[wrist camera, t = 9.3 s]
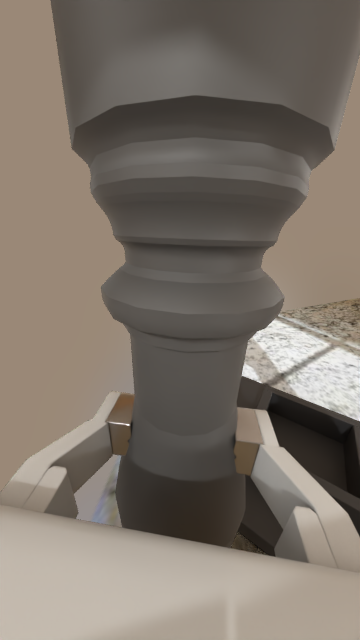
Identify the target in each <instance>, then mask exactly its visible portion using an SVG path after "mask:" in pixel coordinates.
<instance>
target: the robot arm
mask: <svg viewBox="0 0 360 640" xmlns="http://www.w3.org/2000/svg"><path fill="white" fill-rule="evenodd" d="M134 398H135V394H130V393H124V392H123V393H122V392H116V391H111V392H110V393H109V394H108V395H107V397H106V398H105V400H104V402H103V403H102V405H101V407H100V408H99V410H98V412H97V413H96V415H95V416H94V418H93V420H88V421H86V422H85V423H83V424H81V425H80V426H78V427H77V428H75V429H74V430H72V431H70V432H69V433H67V434H66V435H64V436H63V437H61V438H60V439H58V440H56V441H55V442H53V443H52V444H50V445H48V446H47V447H45V448H44V449H42V450H41V451H39V452H37V453H36V454H34V455H33V456H31V457H30V458H28V459H27V460H26V461H25V462H24V463H23V464H22V466H21V467H20V468H19V469H18V471H17V472H16V473H15V474H14V476H13V477H12V478H11V479H10V481H9V482H8V483H7V484H6V485H5V487H4V488H3V489H2V491H1V492H0V640H360V537H359V535H358V533H357V531H356V529H355V527H354V525H353V523H352V521H351V519H350V517H349V515H348V513H347V512H346V511H345V510H344V509H343V508H342V507H341V506H340V505H339V504H338V503H337V502H336V501H335V500H334V499H333V498H332V497H331V496H330V495H329V494H328V493H327V492H326V491H325V490H324V488H323V487H322V486H321V485H320V484H319V483H318V482H317V481H316V480H315V479H314V478H313V477H312V476H311V475H310V474H309V473H308V472H307V471H306V470H305V469H304V468H303V467H302V466H301V465H300V464H299V463H298V462H297V461H296V460H295V459H294V458H293V457H292V456H291V455H290V454H289V453H288V452H287V451H286V450H285V449H284V448H283V447H279V444H278V441H277V438H276V435H275V432H274V430H273V427H272V424H271V421H270V418H269V415H268V412H267V411H266V410H258V409H249V408H240V407H237V411H238V415H237V430H236V432H235V435H234V446H233V453H234V455H235V458H234V460H235V465H236V471H237V473H238V474H244V475H249V476H251V479H252V480H253V482H254V483H255V485H256V487H257V488H258V490H259V491H260V493H261V495H262V496H263V498H264V499H265V501H266V503H267V504H268V506H269V507H270V509H271V511H272V512H273V514H274V516H275V517H276V519H277V520H278V522H279V524H280V525H281V527H282V528H283V532H282V534H281V536H280V538H279V540H278V542H277V544H276V546H275V548H274V551H275V556H276V557H274V556H269V555H264V554H258V553H253V552H248V551H243V550H237V549H232V548H227V547H222V546H216V545H211V544H206V543H201V542H195V541H190V540H185V539H179V538H174V537H169V536H164V535H158V534H153V533H148V532H143V531H137V530H132V529H127V528H122V527H116V526H111V525H106V524H100V523H95V522H90V521H84V520H79V519H76V517H77V514H78V509H77V505H76V501H75V498H74V493H75V492H76V491H77V490H78V489H79V488H80V487H81V486H82V485H83V484H84V483H85V482H86V481H87V480H88V479H89V478H90V477H92V476H93V475H94V474H95V473H96V471H98V469H100V467H102V466H103V465H104V464H105V463H106V462H107V461H108V460H109V458H111V456H112V454H115V455H123V456H126V453H127V449H128V446H129V439H130V438H131V434H132V412H133V404H134Z"/></svg>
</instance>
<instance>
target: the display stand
mask: <svg viewBox="0 0 360 640" xmlns="http://www.w3.org/2000/svg"><path fill="white" fill-rule="evenodd" d="M237 407H240V408H249V409H258V410H266V411H267V412H268V415H269V418H270V421H271V424H272V427H273V430H274V432H275V435H276V438H277V441H278V444H279V447H283V448H284V449H285V450H286V451H287V452H288V453H289V454H290V455H291V456H292V457H293V458H294V459H295V460H296V461H297V462H298V463H299V464H300V465H301V466H302V467H303V468H304V469H305V470H306V471H307V472H308V473H309V474H310V475H311V476H312V477H313V478H314V479H315V480H316V481H317V482H318V483H319V484H320V485H321V486H322V487H323V488H324V490H325V491H326V492H327V493H328V494H329V495H330V496H331V497H332V498H333V499H334V500H335V501H336V502H337V503H338V504H339V505H340V506H341V507H342V508H343V509H344V510H345V511H346V512H347V513H348V515H349V517H350V519H351V521H352V523H353V525H354V527H355V529H356V531H357V533H358V535H359V537H360V421H357V420H354V419H352V418H349V417H347V416H344V415H342V414H339V413H336V412H334V411H331V410H329V409H326V408H324V407H321V406H319V405H316V404H313V403H311V402H308V401H306V400H303V399H301V398H298V397H296V396H293V395H290V394H288V393H285V392H283V391H280V390H278V389H275V388H272V387H270V386H267V385H264V384H261V383H259V382H256V381H254V380H251V379H249V378H246V377H243V376H242V377H241V381H240V386H239V392H238V397H237ZM245 497H246V509H245V512H244V516H243V518H242V521H241V523H240V526H239V528H238V532H240V533H241V534H242V535H243V536H245V537H246V538H247V539H249V540H250V541H251V542H252V543H254V544H255V545H256V546H257V547H259V548H260V549H261V550H263V551H264V552H265V553H266V554H268V555H269V556H274V557H276V556H275V551H274V548H275V546H276V544H277V542H278V540H279V538H280V536H281V534H282V532H283V528H282V527H281V525H280V524H279V522H278V520H277V519H276V517H275V516H274V514H273V512H272V511H271V509H270V507H269V506H268V504H267V503H266V501H265V499H264V498H263V496H262V495H261V493H260V491H259V490H258V488H257V487H256V485H255V483H254V482H253V480H252V479H251V476H249V475H245Z"/></svg>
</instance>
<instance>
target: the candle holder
mask: <svg viewBox="0 0 360 640" xmlns="http://www.w3.org/2000/svg"><path fill="white" fill-rule="evenodd" d="M51 6H52V13H53V20H54V26H55V34H56V41H57V47H58V55H59V61H60V68H61V76H62V83H63V90H64V96H65V104H66V111H67V118H68V125H69V132H70V139H71V146H72V149H73V150H74V151H75V152H76V153H77V154H78V155H79V156H80V157H81V158H82V159H83V160H84V161H85V162H86V163H87V164H88V166H89V168H90V172H91V182H90V188H91V193H92V195H93V197H94V199H95V200H96V202H97V203H98V205H99V206H100V207H101V209H102V210H103V211H104V212H105V214H106V215H107V217H108V219H109V221H110V223H111V226H112V229H113V235H114V236H115V238H116V240H118V241H119V242H121V244H122V245H123V247H124V249H125V258H126V262H125V264H124V265H123V266H122V267H120V268H119V269H118V270H117V271H116V272H115V273H114V274H113V275H112V276H111V277H110V278H109V279H108V280H107V281H106V282H105V283H104V284H103V285H102V286H101V292H102V298H103V301H104V304H105V305H106V307H107V309H108V310H109V312H110V314H111V315H112V317H113V318H114V319H115V320H117V321H119V322H121V323H123V324H124V326H125V327H126V328H127V330H128V332H129V333H130V336H131V349H132V363H133V377H134V390H135V398H134V404H133V412H132V434H131V438H130V439H129V446H128V449H127V453H126V456H123V455H122V456H121V461H120V466H119V472H118V479H117V485H116V492H115V494H116V500H117V505H118V509H119V514H120V518H121V523H122V528H127V529H132V530H137V531H143V532H148V533H153V534H158V535H164V536H169V537H174V538H179V539H185V540H190V541H195V542H201V543H206V544H211V545H216V546H222V547H227V548H230V547H231V546H232V543H233V541H234V538H235V536H236V533H237V531H238V528H239V526H240V523H241V521H242V518H243V516H244V512H245V509H246V497H245V475H244V474H238V473H237V471H236V465H235V460H234V458H235V455H234V453H233V446H234V435H235V432H236V430H237V415H238V411H237V397H238V392H239V386H240V381H241V375H242V370H243V365H244V359H245V354H246V348H247V343H248V340H249V339H250V338H251V337H252V336H253V335H254V334H256V332H257V331H259V330H262V329H265V328H266V327H267V326H268V325H269V324H270V323H271V322H272V321H273V320H274V319H275V318H276V317H277V316H278V314H279V313H280V311H281V309H282V306H283V302H284V298H285V297H284V295H283V293H282V292H281V290H280V289H279V287H278V286H277V285H276V283H275V282H274V281H273V280H272V278H271V277H269V275H267V274H266V273H265V272H264V271H263V270H262V268H261V264H262V258H263V255H264V253H265V251H266V250H267V249H268V248H269V247H271V246H273V245H274V244H275V243H276V241H277V239H278V236H279V233H280V231H281V229H282V227H283V225H284V224H285V222H286V221H287V220H288V219H289V218H290V216H291V215H292V214H294V213H295V211H296V210H297V209H298V208H299V207H300V206H301V205H302V203H303V202H304V200H305V199H306V197H307V195H308V190H309V177H310V174H311V171H312V170H313V169H314V168H316V167H317V166H318V165H319V164H320V163H321V162H322V161H323V160H324V159H325V158H327V157H328V156H329V155H330V154H331V153H332V152H333V151H334V149H335V146H336V142H337V138H338V134H339V130H340V127H341V123H342V119H343V115H344V112H345V108H346V103H347V100H348V96H349V93H350V89H351V85H352V81H353V78H354V74H355V70H356V66H357V62H358V59H359V55H360V0H51Z"/></svg>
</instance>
